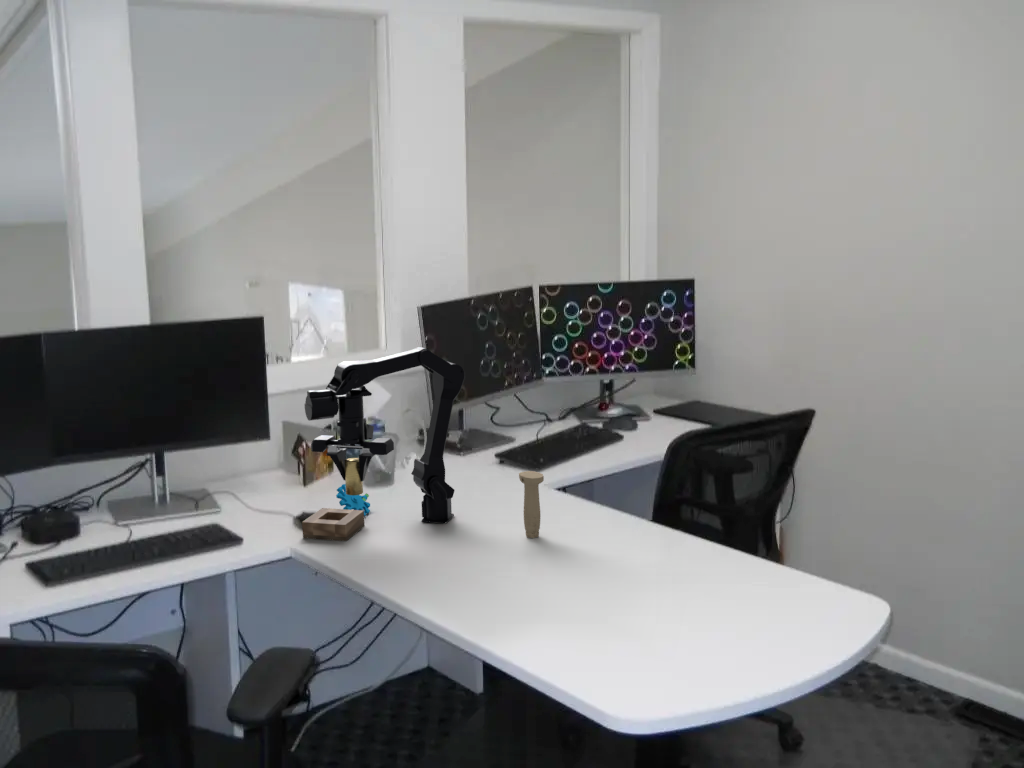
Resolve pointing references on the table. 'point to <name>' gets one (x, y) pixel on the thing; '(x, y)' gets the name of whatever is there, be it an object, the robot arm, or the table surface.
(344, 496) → the gear
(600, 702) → the table surface
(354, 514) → the socket block
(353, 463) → the pin
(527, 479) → the handle
